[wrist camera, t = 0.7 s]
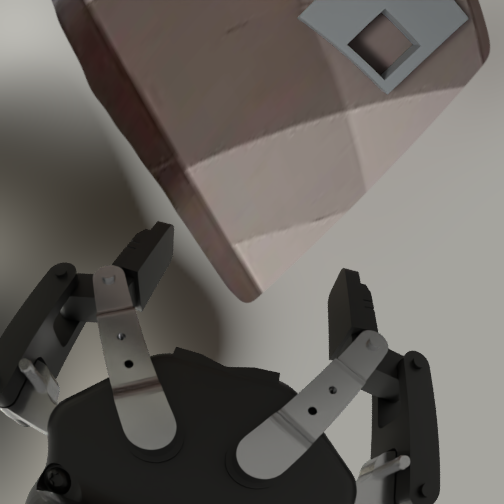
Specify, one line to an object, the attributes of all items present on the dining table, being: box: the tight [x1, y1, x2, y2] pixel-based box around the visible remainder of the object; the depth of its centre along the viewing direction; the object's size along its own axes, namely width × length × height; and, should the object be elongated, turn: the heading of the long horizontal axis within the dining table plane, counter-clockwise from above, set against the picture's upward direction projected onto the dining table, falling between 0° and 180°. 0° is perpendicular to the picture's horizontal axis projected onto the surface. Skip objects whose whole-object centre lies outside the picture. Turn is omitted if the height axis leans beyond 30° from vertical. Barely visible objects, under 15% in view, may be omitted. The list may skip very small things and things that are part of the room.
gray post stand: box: [298, 0, 468, 95], centre depth 18 cm, size 14×17×12 cm
